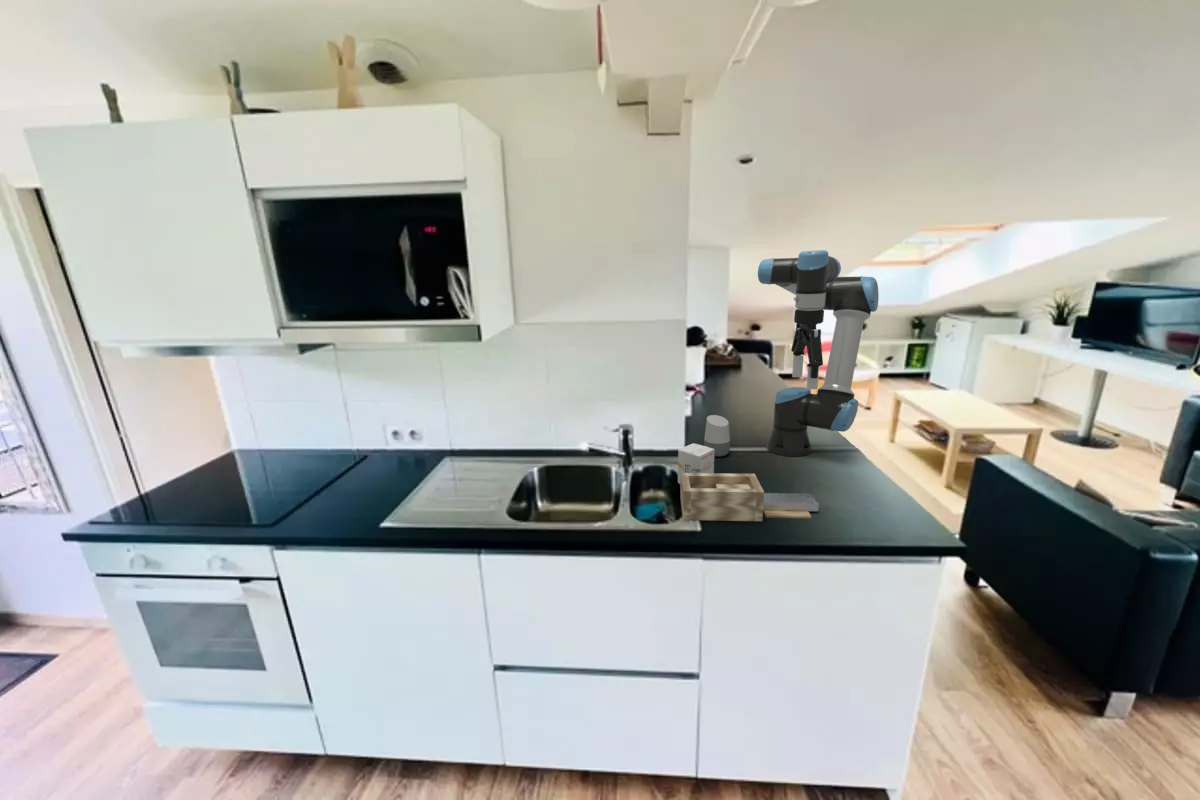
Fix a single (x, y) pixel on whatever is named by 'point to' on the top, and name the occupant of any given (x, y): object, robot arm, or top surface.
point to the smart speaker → (717, 435)
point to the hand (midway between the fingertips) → (804, 382)
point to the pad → (787, 514)
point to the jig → (721, 497)
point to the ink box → (695, 460)
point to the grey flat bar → (789, 502)
